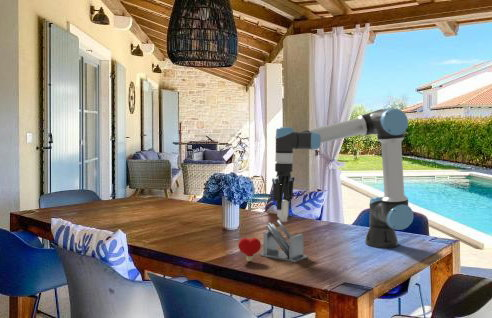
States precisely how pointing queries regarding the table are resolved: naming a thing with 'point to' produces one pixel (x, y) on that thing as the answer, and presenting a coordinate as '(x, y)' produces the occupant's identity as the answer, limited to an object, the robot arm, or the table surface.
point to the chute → (282, 244)
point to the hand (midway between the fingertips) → (282, 216)
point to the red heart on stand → (249, 247)
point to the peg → (284, 212)
